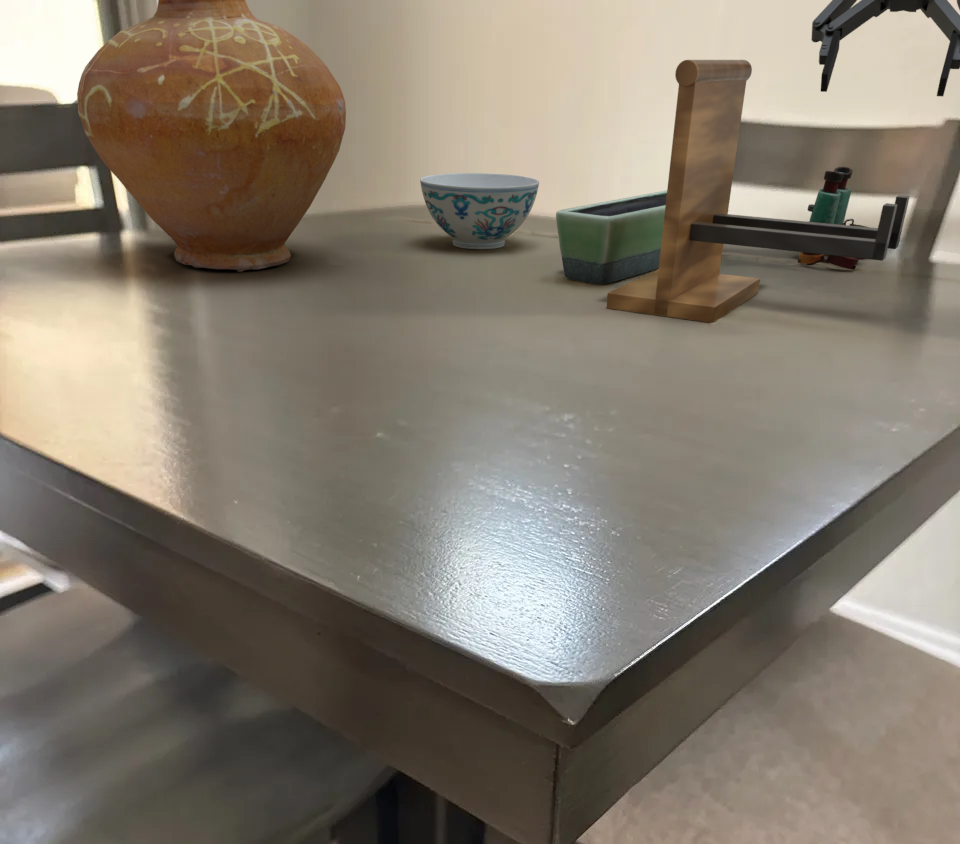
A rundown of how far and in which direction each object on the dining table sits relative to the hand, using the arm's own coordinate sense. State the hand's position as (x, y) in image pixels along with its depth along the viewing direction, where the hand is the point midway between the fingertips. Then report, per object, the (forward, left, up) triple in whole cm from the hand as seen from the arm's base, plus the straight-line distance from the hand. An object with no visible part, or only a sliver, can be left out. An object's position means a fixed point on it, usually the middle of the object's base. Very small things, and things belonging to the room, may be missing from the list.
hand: (881, 85), depth 118 cm
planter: (+19, +27, -19) cm, 38 cm away
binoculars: (-1, +11, -19) cm, 22 cm away
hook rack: (+2, +41, -19) cm, 45 cm away
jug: (+60, +52, -19) cm, 82 cm away
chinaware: (+42, +25, -19) cm, 52 cm away
